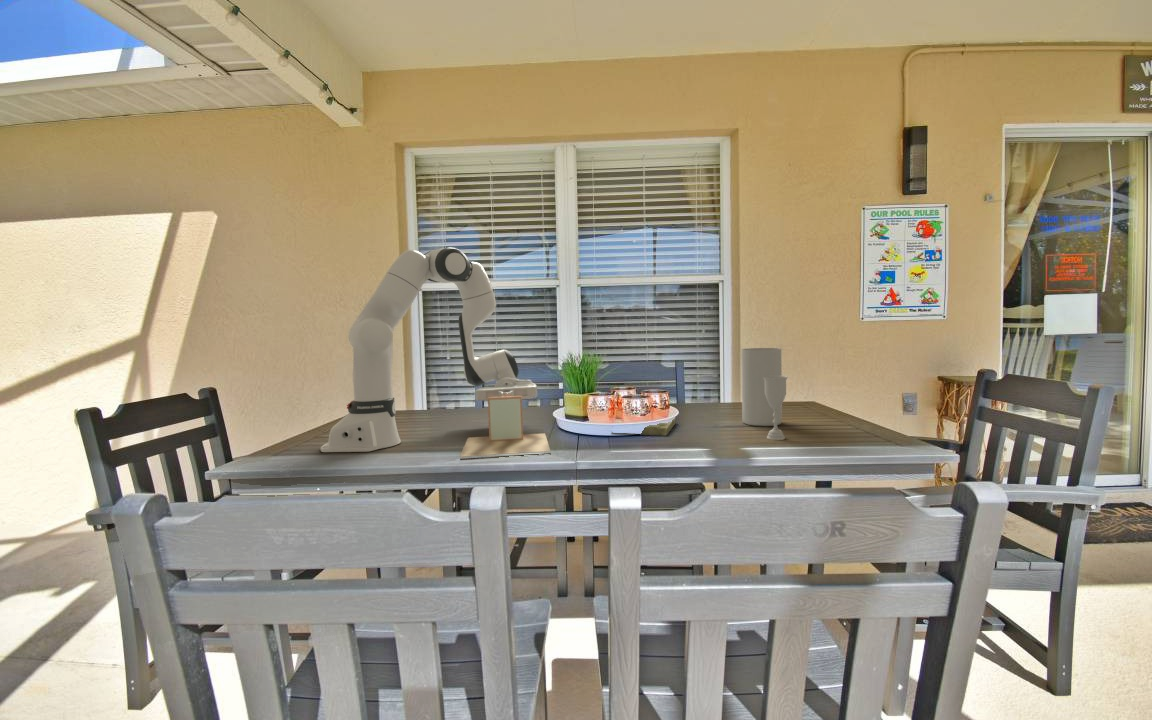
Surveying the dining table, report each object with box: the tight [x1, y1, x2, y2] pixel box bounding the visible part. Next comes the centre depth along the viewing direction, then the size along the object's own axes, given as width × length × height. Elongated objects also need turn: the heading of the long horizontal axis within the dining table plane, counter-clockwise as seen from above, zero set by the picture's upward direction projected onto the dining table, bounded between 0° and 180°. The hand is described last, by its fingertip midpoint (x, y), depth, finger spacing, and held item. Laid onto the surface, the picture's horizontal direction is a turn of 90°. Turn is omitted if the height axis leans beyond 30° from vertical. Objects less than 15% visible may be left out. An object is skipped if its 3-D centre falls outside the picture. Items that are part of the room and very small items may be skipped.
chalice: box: [763, 375, 789, 441], centre depth 147 cm, size 7×7×18 cm
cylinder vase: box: [740, 347, 783, 427], centre depth 169 cm, size 12×12×25 cm
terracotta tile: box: [487, 395, 524, 442], centre depth 153 cm, size 10×3×13 cm, turn 97°
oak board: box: [459, 433, 551, 461], centre depth 147 cm, size 24×24×1 cm
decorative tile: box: [640, 417, 676, 437], centre depth 168 cm, size 19×20×4 cm
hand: (506, 395), depth 160 cm, fingers closed
